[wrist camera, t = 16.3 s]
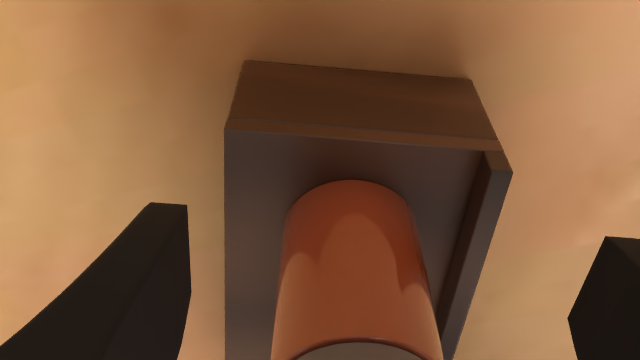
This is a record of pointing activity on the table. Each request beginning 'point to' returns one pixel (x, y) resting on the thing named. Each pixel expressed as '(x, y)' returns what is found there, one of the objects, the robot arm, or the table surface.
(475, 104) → the shelf
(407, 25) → the table surface
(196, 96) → the table surface
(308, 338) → the pepper shaker
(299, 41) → the table surface
